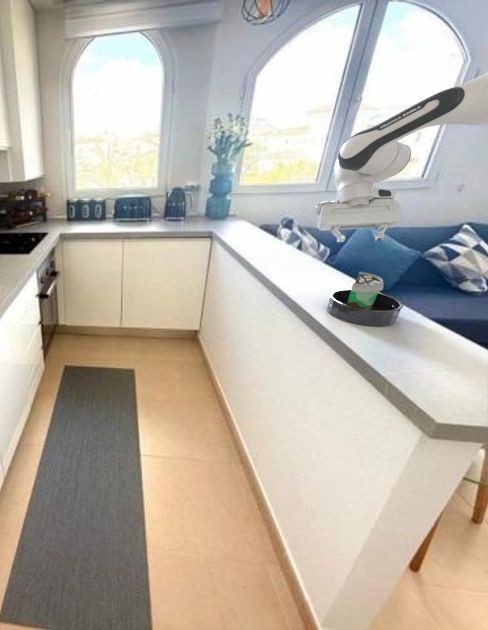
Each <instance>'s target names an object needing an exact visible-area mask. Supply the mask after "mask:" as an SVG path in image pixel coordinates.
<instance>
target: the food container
mask: <svg viewBox="0 0 488 630" xmlns="http://www.w3.org/2000/svg"><path fill="white" fill-rule="evenodd" d="M384 284H385V283H384V280H383V278H382V277H381V276H378V275H376V274H373V273H369V272H364V271H359V272H358V276H357V278H356V280H355V282H353V283H352V286H351V288H350V289H351V293H350V296H349V299H348V302H347V305H348V306H351V307H356V308H360V309H366V310H370V309H371V307H372V305H373V303H374V301H375V298H376V296H377V294H378V293H380V292H381V291H383V290H384Z"/></svg>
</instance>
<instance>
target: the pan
mask: <svg viewBox="0 0 488 630" xmlns="http://www.w3.org/2000/svg"><path fill="white" fill-rule="evenodd" d="M351 289H352V288H345V289H338V290H334V291H332V292H331V293H330V294H329V298H328V301H327V305H326V312H327V313H328V314H329V315H331V316H332V317H334V318H336V319H338V320H340V321H343V322H345V323H350V324H354V325H358V326H363V327H364V326H365V327H373V328H374V327H375V328H380V327H381V328H383V327H390V326H393V325H395V324H396V323H397V321H398V320H399V318H400V315H401V313H402V310H403V307H404V305H403V303H402V302H401V301H400V300H399V299H397V298H395V297H393V296H390V295H387V294H384V293H380V292H378V294H377V296H376V298H375V301H374V303H373V305H372V307H371V309H370V310H366V309H360V308H356V307H351V306H348V305H347V302H348V299H349V296H350V293H351Z"/></svg>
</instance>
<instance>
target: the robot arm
mask: <svg viewBox="0 0 488 630" xmlns="http://www.w3.org/2000/svg"><path fill="white" fill-rule="evenodd" d="M445 125H464V126H466V125H467V126H483V125H488V71H487V72H484V73H483V74H481V75H478V76H477V77H475V78H473V79H470V80H468V81H466V82H464V83H461V84H459V85H455V86H454V87H449V88H447V89H445V90H442V91H440V92H437V93H435V94H432V95H431V96H429V97H427V98H425V99H422V100H421V101H419V102H417V103H415V104H413V105H412V106H409V107H408V108H406V109H404V110H402V111H399V113H397V114H395V115H393V116H391V117H389V118H388V119H385V120H384V121H382V122H381V123H378V124H376V125H374V126H372V127H369V128H366V129H363V130H360V131H357V132H356V133H354V134H353V135H351V136H349V137H348V138H347V139H346V140H345V141H344V142H343V143H342V144H341V146H340V148H339V150H338V154H337V159H336V161H335V163H334V167H333V169H334V170H333V180H334V186H335V188H336V193H335V199H336V200H329V201H321V202H320V203H318V204H317V205H316V206H315V211H316V214H317V220H316V221H317V222H316V229H318V230H319V231H322V232H323V231H331V234H332V235H333V236H334V237H335V238H336V243H344V242H345V241H346V234H342V233H341V232H340V230H341V231H342V230H344V231H345V230H364V229H377V231H378V232H377V233H376V234H374V241H375V242H377V241H378V242H379V241H380V242H381V241H384V239H385V232H386V230H387V229H388V228H395V227H396V226H398V225H399V224H400V223H402V221H403V219H404V217H403V216H404V215H403V211H402V208H401V205H400V203H399V201H398V200H397V199H395V197H396V191H395V190H392V189H386V188H380V187H376V186H374V184H375V183H379V182H382V181H384V180H385V181H386V180H388V179H390V178H392V177H394V176H396V175H397V174H399V173H401V172H402V171H403V170H404V169H405V168H406V167H407V165H408V164H409V162H410V160H411V156H412V149H411V148H410V146H409V145H408V144H405V143H403V142H400V140H402V139H404V138H406V137H407V136H410V135H413V134H414V133H416V132H418V131H421V130H423V129H426V128H430V127H435V126H445Z"/></svg>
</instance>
